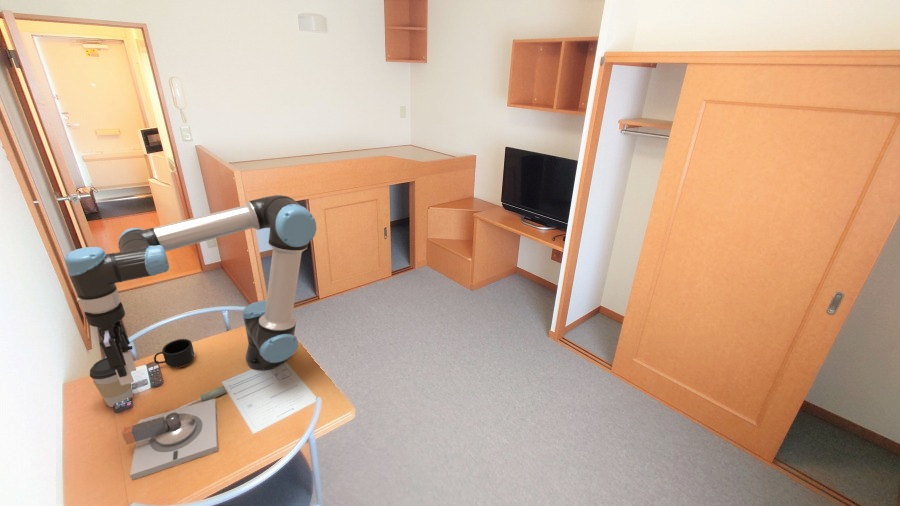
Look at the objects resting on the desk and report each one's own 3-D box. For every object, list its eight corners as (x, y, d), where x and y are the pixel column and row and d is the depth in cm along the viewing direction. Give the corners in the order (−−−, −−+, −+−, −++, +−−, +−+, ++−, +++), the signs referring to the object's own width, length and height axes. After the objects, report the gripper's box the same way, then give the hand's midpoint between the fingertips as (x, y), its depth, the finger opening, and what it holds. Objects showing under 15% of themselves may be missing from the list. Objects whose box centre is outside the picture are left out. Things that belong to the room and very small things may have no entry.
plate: (216, 403, 131) (214, 398, 130) (217, 450, 116) (216, 445, 115) (141, 424, 122) (139, 419, 121) (132, 480, 106) (129, 474, 106)
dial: (196, 413, 124) (192, 399, 121) (196, 438, 116) (191, 423, 114) (131, 433, 117) (125, 417, 114) (126, 460, 109) (120, 445, 106)
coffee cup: (118, 412, 126) (104, 375, 119) (94, 406, 127) (79, 369, 121) (144, 391, 134) (131, 356, 127) (121, 386, 135) (107, 350, 129)
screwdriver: (223, 384, 135) (226, 390, 134) (223, 387, 137) (226, 393, 136) (171, 406, 125) (174, 413, 124) (172, 409, 127) (174, 416, 126)
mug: (194, 350, 153) (190, 335, 150) (196, 364, 147) (192, 349, 144) (156, 361, 147) (151, 345, 144) (157, 376, 140) (151, 360, 137)
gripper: (91, 293, 107) (117, 361, 117) (75, 329, 93) (105, 403, 103) (126, 287, 110) (148, 354, 120) (115, 321, 97) (141, 393, 107)
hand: (128, 376), depth 112 cm, fingers open, 4 cm apart
